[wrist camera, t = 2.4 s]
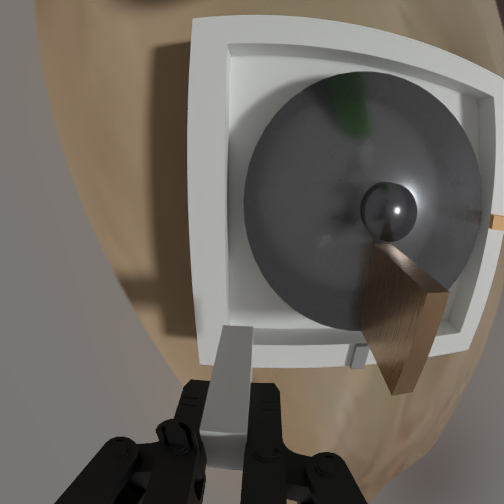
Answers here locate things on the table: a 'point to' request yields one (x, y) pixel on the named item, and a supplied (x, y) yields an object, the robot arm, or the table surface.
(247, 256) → the white square tray
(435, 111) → the dial
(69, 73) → the table surface
